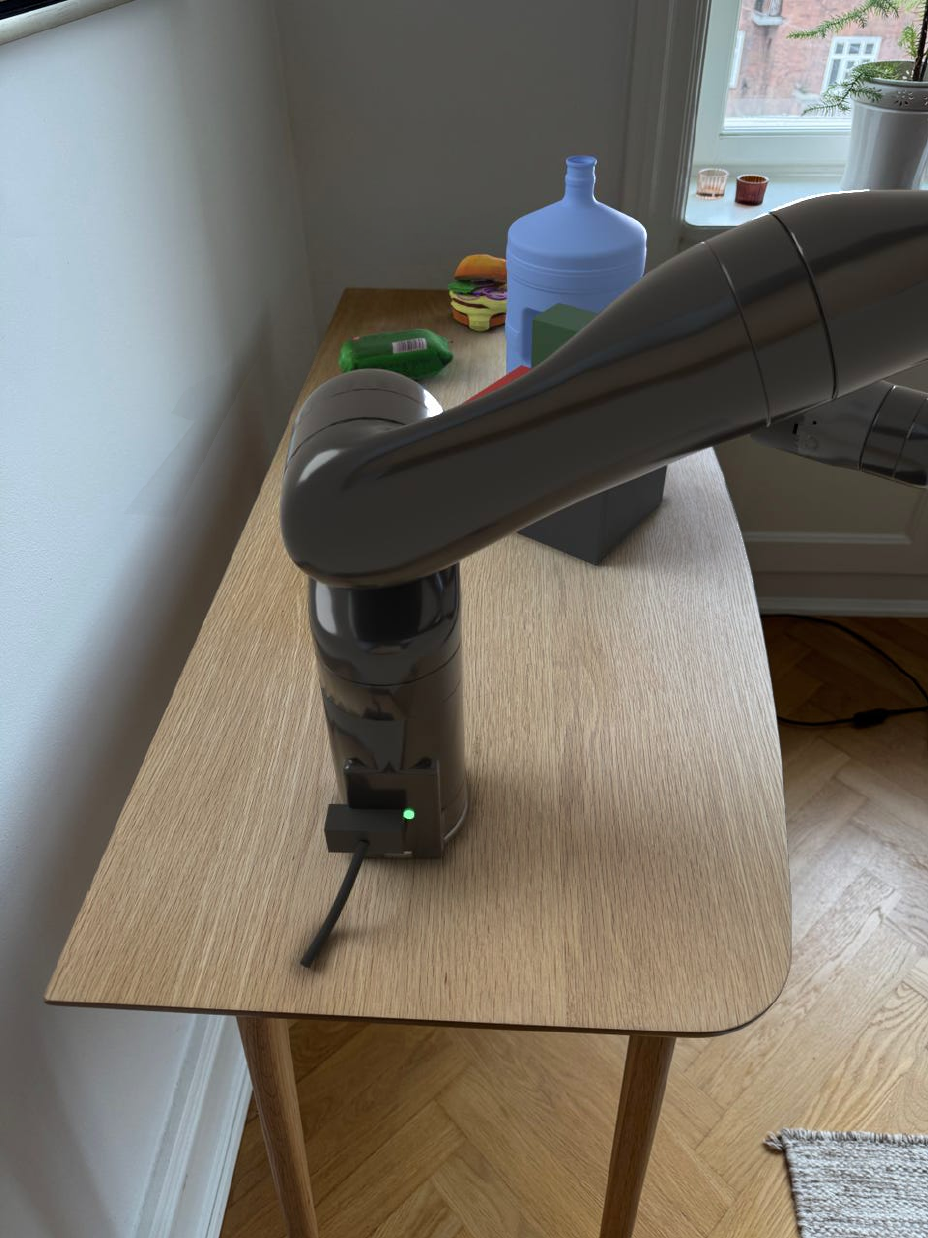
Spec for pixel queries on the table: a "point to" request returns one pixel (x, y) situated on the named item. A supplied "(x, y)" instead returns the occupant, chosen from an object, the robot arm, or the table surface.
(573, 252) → the water jug
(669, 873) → the table surface
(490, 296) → the cheeseburger
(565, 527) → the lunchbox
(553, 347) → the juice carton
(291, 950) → the table surface
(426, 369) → the snack package
